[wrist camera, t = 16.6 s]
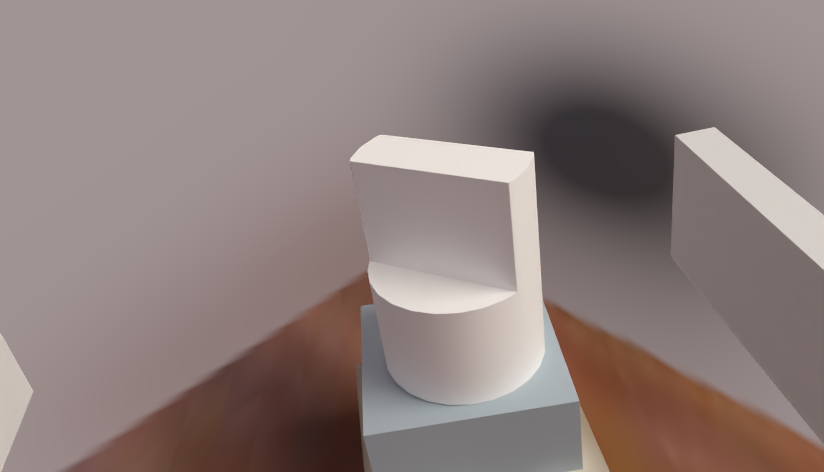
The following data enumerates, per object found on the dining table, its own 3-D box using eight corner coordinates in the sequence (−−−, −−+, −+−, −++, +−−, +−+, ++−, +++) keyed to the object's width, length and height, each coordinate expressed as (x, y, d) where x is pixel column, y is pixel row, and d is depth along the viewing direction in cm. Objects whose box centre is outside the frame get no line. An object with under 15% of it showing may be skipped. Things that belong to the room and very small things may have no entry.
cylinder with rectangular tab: (568, 315, 44) (561, 125, 38) (507, 425, 38) (486, 218, 31) (430, 285, 48) (403, 110, 42) (355, 379, 42) (309, 189, 36)
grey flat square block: (380, 501, 41) (362, 436, 39) (375, 366, 51) (360, 306, 48) (582, 469, 41) (579, 401, 38) (539, 339, 50) (534, 277, 48)
